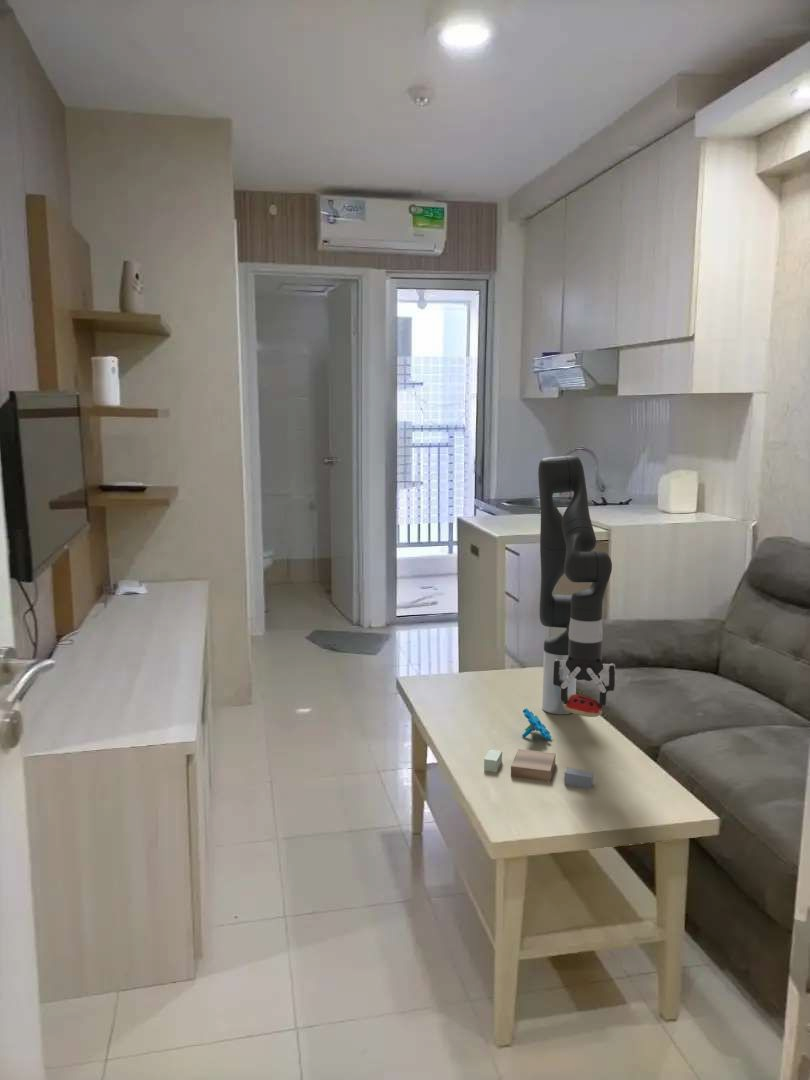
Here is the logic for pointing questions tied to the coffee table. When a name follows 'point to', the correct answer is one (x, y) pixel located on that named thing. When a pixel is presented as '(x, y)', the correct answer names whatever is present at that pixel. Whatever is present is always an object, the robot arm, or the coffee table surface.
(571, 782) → the slate brick
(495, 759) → the sage brick
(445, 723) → the coffee table surface
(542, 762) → the walnut block
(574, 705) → the ladybug figurine
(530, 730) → the gear
